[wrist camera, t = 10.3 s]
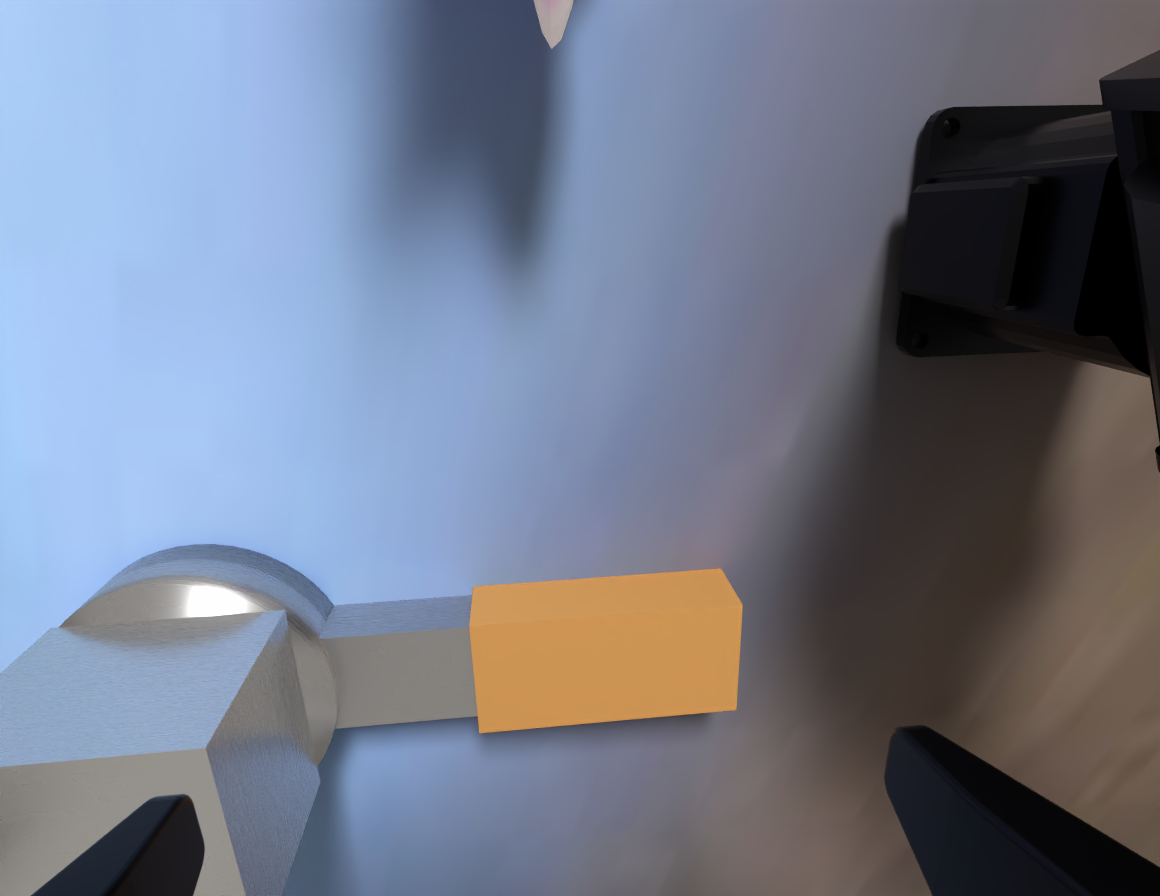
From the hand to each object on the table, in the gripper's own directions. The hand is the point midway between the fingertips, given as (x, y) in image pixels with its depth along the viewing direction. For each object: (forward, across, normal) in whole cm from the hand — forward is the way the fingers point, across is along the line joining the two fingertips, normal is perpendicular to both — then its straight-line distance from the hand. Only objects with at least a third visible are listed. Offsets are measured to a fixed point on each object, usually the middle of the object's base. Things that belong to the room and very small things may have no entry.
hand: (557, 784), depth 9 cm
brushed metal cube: (+10, +10, +6) cm, 15 cm away
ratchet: (+12, +4, +6) cm, 14 cm away
